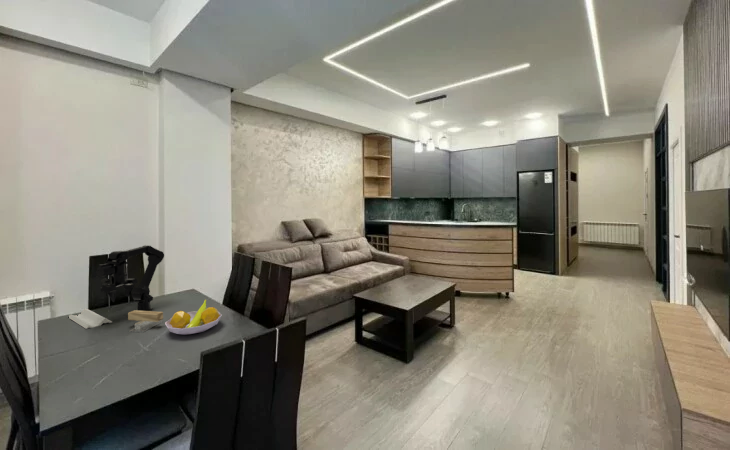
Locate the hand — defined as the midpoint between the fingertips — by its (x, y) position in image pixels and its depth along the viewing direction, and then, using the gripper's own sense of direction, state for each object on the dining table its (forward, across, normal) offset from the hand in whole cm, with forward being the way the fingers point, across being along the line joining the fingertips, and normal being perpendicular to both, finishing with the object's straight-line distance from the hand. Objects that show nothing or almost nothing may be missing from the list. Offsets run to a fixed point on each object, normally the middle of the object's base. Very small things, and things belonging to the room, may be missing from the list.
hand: (120, 299), depth 179 cm
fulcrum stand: (+12, +9, +23) cm, 27 cm away
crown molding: (+13, +2, -18) cm, 22 cm away
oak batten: (+8, +9, +23) cm, 26 cm away
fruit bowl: (+12, +9, +52) cm, 54 cm away
